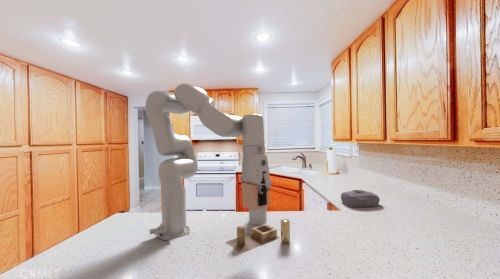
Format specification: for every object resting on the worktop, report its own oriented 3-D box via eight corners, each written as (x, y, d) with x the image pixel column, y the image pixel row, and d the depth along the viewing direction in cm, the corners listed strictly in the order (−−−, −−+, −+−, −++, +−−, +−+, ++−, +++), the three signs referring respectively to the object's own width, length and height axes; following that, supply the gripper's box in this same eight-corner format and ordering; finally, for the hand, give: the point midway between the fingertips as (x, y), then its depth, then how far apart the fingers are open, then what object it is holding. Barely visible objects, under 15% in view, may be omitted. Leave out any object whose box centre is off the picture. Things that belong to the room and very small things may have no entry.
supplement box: (265, 227, 94) (264, 198, 94) (248, 226, 95) (248, 198, 95) (267, 220, 101) (266, 194, 101) (251, 220, 102) (251, 193, 102)
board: (241, 256, 70) (240, 235, 70) (225, 245, 78) (225, 225, 78) (279, 240, 81) (279, 221, 81) (262, 231, 89) (262, 214, 89)
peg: (285, 248, 75) (285, 223, 75) (279, 245, 78) (278, 220, 78) (291, 245, 77) (291, 221, 77) (285, 242, 80) (285, 218, 80)
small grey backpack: (352, 209, 115) (386, 208, 116) (351, 194, 115) (386, 192, 116) (338, 201, 130) (368, 200, 131) (337, 188, 130) (368, 186, 131)
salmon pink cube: (254, 210, 68) (253, 185, 68) (242, 206, 73) (241, 183, 73) (269, 206, 72) (268, 182, 72) (257, 202, 77) (256, 180, 77)
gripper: (279, 150, 68) (281, 206, 68) (247, 149, 82) (249, 196, 81) (261, 151, 63) (264, 211, 63) (230, 151, 77) (232, 200, 77)
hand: (255, 202), depth 72 cm, fingers closed on salmon pink cube, 6 cm apart
